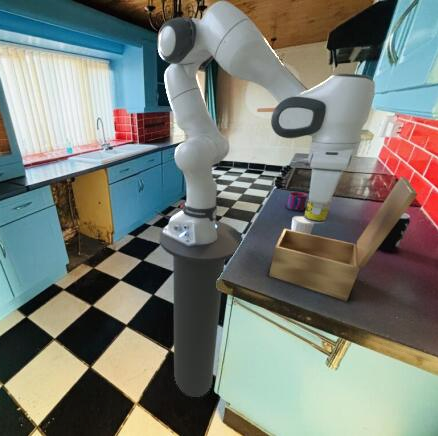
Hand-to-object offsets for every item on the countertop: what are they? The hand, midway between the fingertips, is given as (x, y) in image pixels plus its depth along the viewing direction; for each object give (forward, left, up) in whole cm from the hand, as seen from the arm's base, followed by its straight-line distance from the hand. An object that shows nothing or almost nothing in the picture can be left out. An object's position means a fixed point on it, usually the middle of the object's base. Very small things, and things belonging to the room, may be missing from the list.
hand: (316, 209), depth 60 cm
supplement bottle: (0, 0, -3) cm, 3 cm away
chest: (+2, 0, -20) cm, 20 cm away
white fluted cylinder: (-3, +23, -20) cm, 30 cm away
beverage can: (+20, +29, -20) cm, 40 cm away
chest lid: (+12, 0, 0) cm, 12 cm away
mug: (-8, +50, -20) cm, 54 cm away
